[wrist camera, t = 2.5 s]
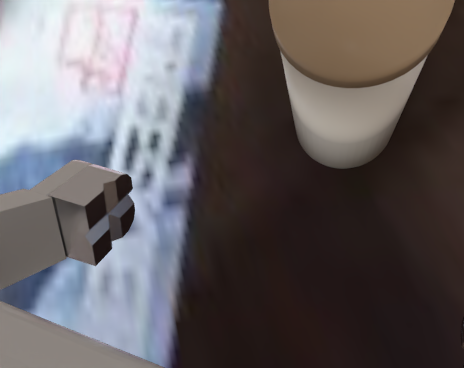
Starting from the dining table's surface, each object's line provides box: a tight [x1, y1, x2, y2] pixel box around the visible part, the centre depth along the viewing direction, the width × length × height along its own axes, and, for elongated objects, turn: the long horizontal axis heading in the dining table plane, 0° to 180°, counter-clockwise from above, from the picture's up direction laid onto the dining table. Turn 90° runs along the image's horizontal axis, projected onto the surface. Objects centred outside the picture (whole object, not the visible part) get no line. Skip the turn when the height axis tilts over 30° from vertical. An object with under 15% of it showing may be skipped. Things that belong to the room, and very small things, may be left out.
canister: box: [269, 0, 455, 169], centre depth 18 cm, size 5×5×11 cm
